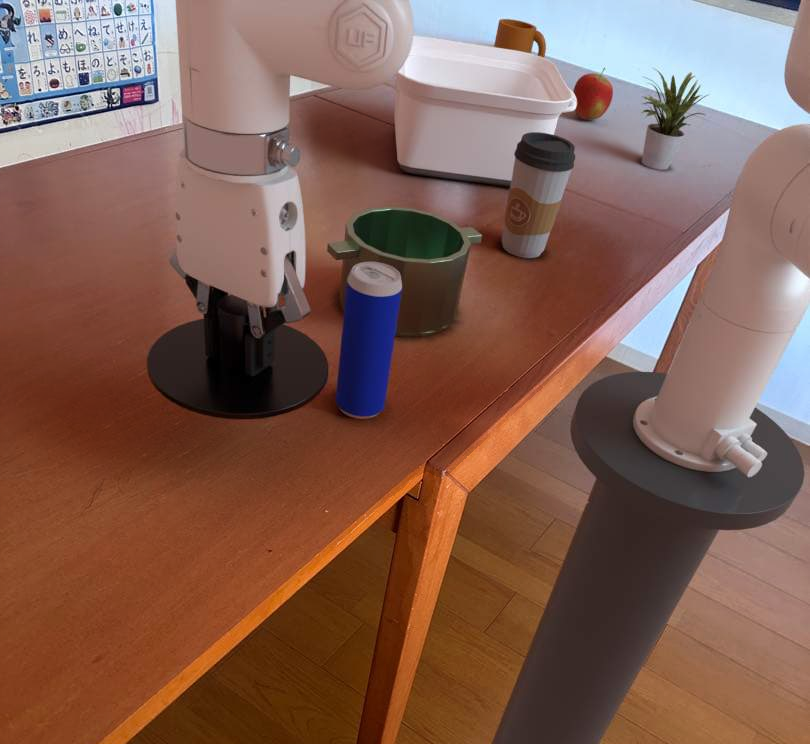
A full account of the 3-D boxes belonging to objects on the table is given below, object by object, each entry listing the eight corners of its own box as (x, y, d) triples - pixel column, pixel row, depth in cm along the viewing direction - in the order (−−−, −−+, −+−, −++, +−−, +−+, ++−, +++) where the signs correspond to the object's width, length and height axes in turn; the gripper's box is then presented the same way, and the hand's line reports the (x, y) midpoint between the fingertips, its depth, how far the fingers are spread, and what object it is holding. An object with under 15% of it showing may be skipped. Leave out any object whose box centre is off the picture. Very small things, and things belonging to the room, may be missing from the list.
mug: (530, 79, 188) (540, 35, 182) (484, 65, 191) (492, 21, 185) (544, 73, 194) (554, 29, 188) (499, 59, 197) (508, 16, 191)
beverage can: (393, 411, 86) (415, 278, 75) (357, 427, 83) (374, 291, 73) (361, 387, 88) (377, 255, 78) (324, 402, 85) (336, 267, 75)
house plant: (622, 142, 164) (650, 51, 152) (690, 160, 162) (724, 68, 150) (612, 163, 153) (641, 67, 142) (684, 182, 151) (719, 86, 140)
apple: (573, 110, 175) (587, 58, 168) (609, 120, 173) (624, 68, 167) (562, 118, 170) (575, 65, 163) (598, 129, 168) (614, 75, 161)
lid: (358, 403, 72) (365, 336, 67) (183, 442, 65) (178, 371, 60) (284, 316, 81) (286, 252, 76) (124, 342, 74) (115, 273, 69)
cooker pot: (494, 323, 102) (512, 251, 96) (354, 349, 94) (363, 271, 87) (434, 270, 111) (446, 200, 104) (300, 288, 102) (304, 214, 95)
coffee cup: (482, 243, 119) (505, 135, 109) (517, 231, 124) (543, 127, 114) (526, 266, 116) (554, 157, 105) (560, 254, 120) (590, 148, 110)
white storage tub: (366, 177, 131) (377, 76, 121) (367, 119, 152) (376, 28, 142) (570, 203, 136) (596, 108, 125) (543, 143, 156) (564, 57, 146)
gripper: (359, 164, 60) (341, 377, 72) (182, 101, 64) (193, 312, 77) (300, 192, 55) (291, 415, 67) (112, 122, 59) (137, 343, 72)
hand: (239, 358), depth 72 cm, fingers closed on lid, 3 cm apart
